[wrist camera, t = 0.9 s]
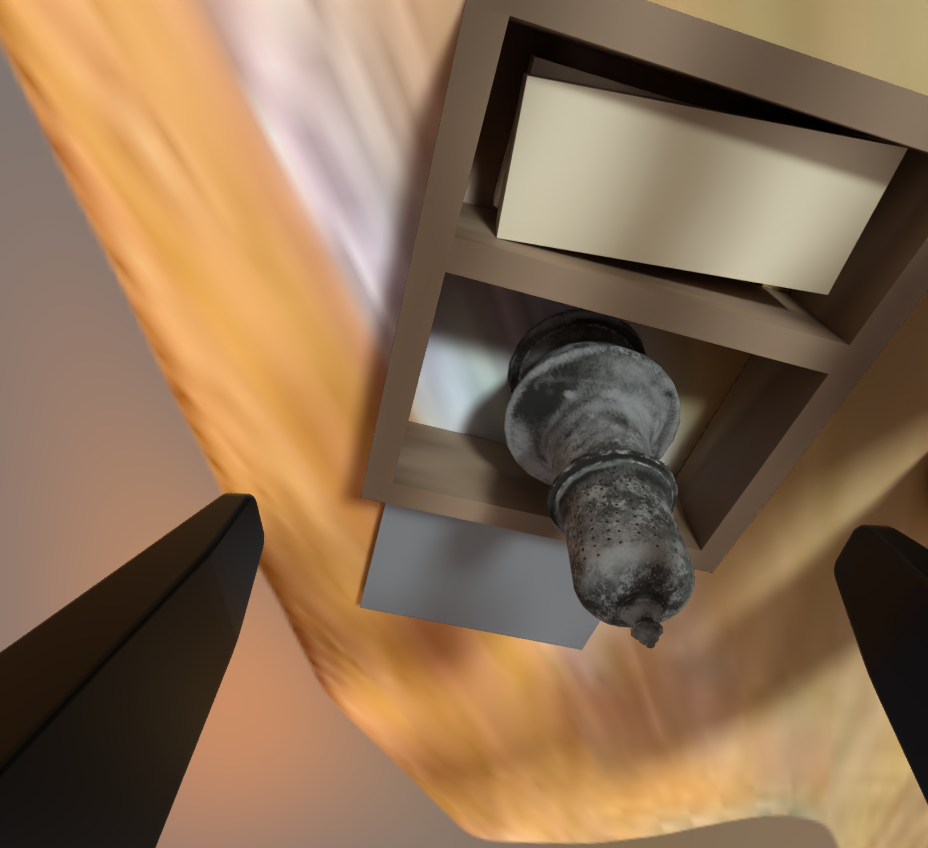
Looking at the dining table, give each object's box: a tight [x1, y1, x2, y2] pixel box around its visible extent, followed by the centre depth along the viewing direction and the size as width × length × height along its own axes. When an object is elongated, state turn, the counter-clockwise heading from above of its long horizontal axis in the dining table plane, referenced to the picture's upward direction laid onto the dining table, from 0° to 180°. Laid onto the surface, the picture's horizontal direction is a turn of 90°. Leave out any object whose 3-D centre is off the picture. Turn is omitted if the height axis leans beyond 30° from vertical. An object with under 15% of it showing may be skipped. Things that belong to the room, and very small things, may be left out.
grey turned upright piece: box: [504, 310, 695, 648], centre depth 17 cm, size 6×6×12 cm
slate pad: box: [360, 503, 600, 650], centre depth 28 cm, size 12×8×1 cm
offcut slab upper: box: [496, 72, 908, 295], centre depth 16 cm, size 10×4×2 cm, turn 81°
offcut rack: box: [361, 0, 928, 573], centre depth 19 cm, size 14×16×4 cm
